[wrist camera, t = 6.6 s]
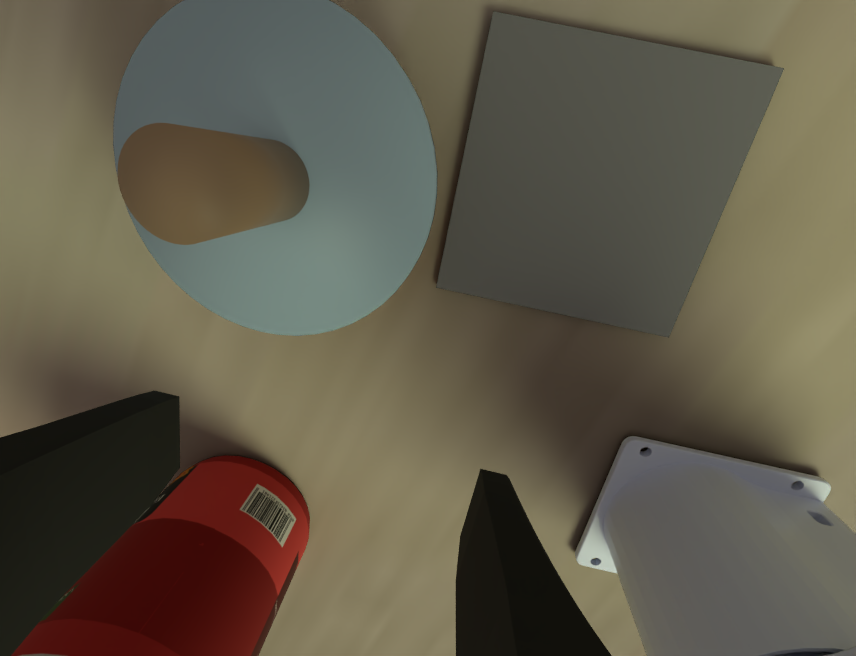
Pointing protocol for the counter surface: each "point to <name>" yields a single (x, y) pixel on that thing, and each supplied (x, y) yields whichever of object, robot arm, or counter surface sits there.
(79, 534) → the robot arm
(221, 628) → the canned food
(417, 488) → the counter surface
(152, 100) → the lid
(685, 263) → the mat
